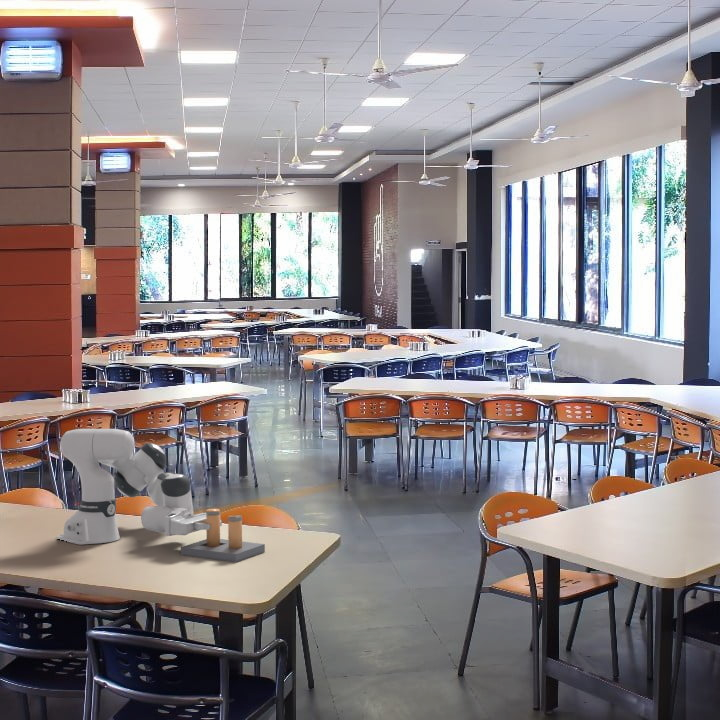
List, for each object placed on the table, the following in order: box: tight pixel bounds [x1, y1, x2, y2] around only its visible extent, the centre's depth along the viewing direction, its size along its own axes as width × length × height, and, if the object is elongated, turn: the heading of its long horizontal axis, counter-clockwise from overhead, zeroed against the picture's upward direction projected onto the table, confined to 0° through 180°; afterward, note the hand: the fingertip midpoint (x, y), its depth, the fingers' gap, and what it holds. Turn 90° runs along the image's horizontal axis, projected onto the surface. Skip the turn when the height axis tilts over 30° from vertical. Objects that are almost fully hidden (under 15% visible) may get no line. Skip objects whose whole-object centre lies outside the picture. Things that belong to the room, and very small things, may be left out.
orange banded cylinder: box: [205, 508, 221, 547], centre depth 327 cm, size 4×4×12 cm
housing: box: [180, 514, 266, 563], centre depth 325 cm, size 22×16×12 cm
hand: (215, 525), depth 327 cm, fingers closed on orange banded cylinder, 4 cm apart
